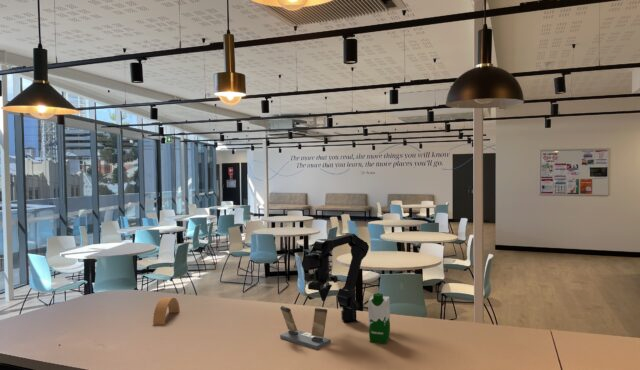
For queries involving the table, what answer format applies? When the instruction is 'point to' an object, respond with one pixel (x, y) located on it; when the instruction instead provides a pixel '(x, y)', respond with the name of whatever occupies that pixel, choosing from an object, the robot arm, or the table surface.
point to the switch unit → (305, 339)
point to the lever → (288, 318)
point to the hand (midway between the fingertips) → (323, 301)
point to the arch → (164, 309)
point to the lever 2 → (319, 322)
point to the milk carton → (379, 318)
